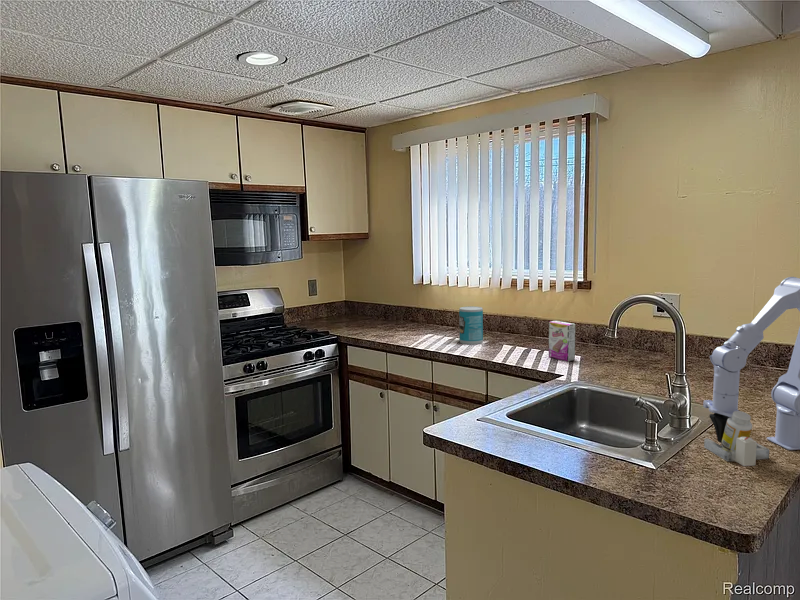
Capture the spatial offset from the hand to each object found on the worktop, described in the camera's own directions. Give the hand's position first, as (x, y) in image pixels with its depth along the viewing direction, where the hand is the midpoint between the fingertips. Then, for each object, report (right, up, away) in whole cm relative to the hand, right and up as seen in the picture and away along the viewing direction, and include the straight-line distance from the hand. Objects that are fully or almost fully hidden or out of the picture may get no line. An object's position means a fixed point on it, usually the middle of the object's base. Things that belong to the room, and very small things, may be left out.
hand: (723, 441), depth 145 cm
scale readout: (-1, -2, -11) cm, 11 cm away
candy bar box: (-14, +11, +99) cm, 100 cm away
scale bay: (0, -2, -5) cm, 5 cm away
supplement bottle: (0, -1, -4) cm, 4 cm away
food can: (-49, +15, +138) cm, 147 cm away
